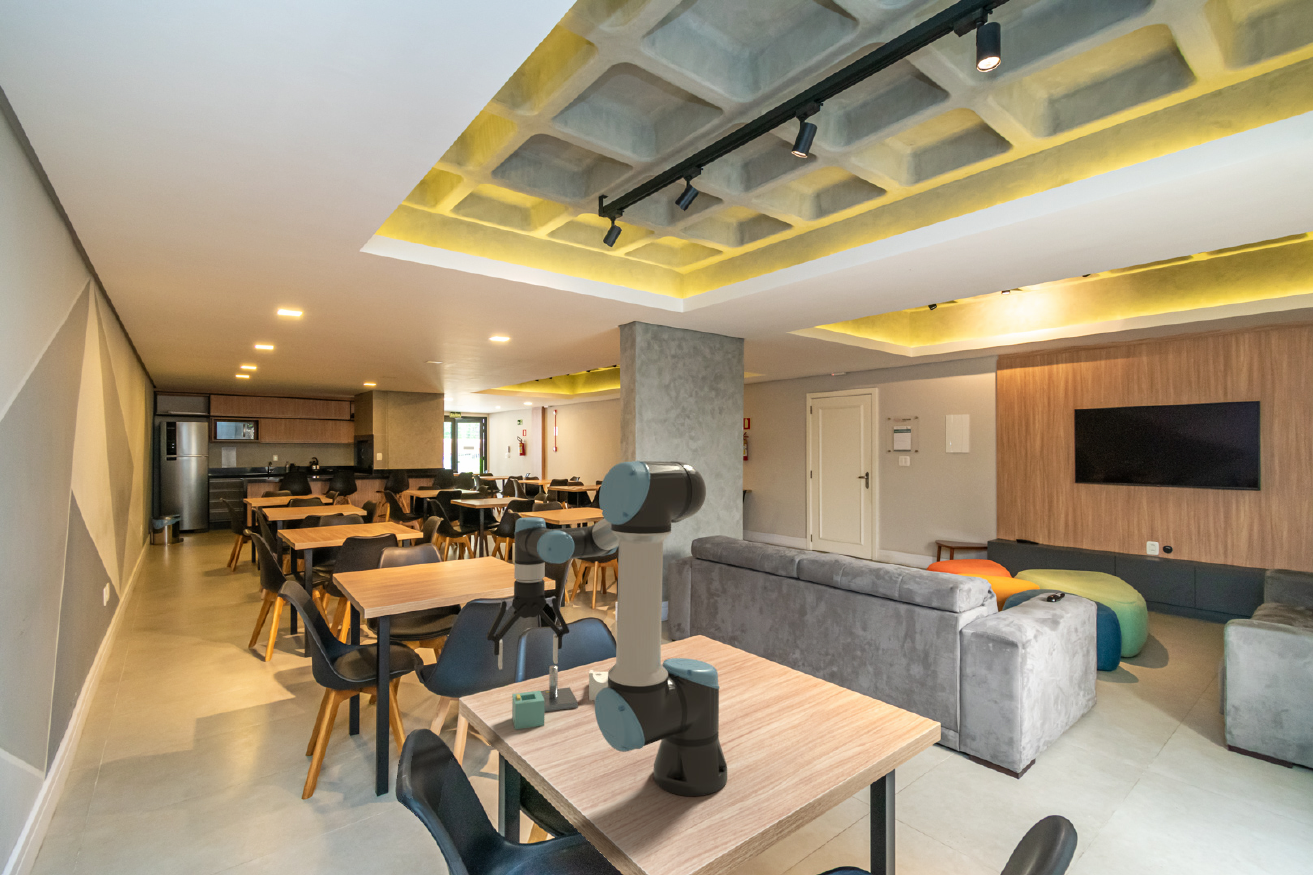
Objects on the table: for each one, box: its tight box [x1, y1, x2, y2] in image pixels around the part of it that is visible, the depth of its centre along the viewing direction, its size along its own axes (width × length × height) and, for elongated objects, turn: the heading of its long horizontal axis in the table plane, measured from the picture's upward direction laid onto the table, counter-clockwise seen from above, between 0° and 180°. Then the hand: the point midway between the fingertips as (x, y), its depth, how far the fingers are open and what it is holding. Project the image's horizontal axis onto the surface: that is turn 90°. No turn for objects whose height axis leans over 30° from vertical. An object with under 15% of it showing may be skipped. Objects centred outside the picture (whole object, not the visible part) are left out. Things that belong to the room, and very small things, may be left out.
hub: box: [511, 690, 545, 730], centre depth 151 cm, size 7×7×7 cm
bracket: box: [588, 669, 608, 701], centre depth 172 cm, size 13×7×8 cm, turn 1°
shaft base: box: [540, 664, 579, 713], centre depth 163 cm, size 11×11×10 cm
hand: (528, 664), depth 152 cm, fingers open, 13 cm apart
